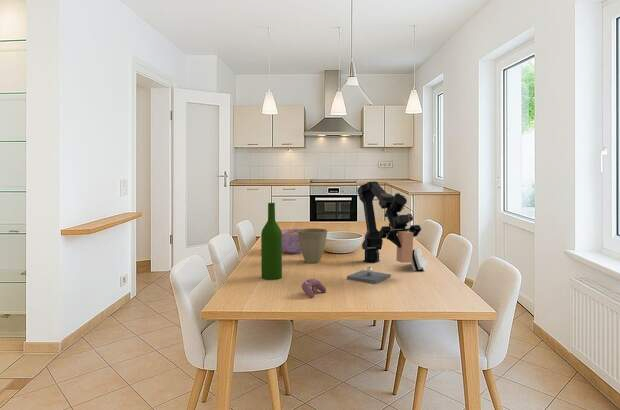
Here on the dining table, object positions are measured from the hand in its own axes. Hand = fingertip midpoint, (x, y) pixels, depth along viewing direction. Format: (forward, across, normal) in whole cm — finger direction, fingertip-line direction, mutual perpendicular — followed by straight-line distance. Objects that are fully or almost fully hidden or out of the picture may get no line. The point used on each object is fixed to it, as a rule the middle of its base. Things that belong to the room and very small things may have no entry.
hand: (406, 247), depth 208 cm
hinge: (-2, +16, +22) cm, 27 cm away
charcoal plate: (+7, -15, +12) cm, 21 cm away
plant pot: (-21, -29, +40) cm, 54 cm away
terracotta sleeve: (+4, 0, +6) cm, 7 cm away
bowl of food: (-39, -31, +58) cm, 77 cm away
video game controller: (+19, -46, +1) cm, 50 cm away
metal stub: (+6, -15, +12) cm, 20 cm away
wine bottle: (-2, -56, +22) cm, 60 cm away
